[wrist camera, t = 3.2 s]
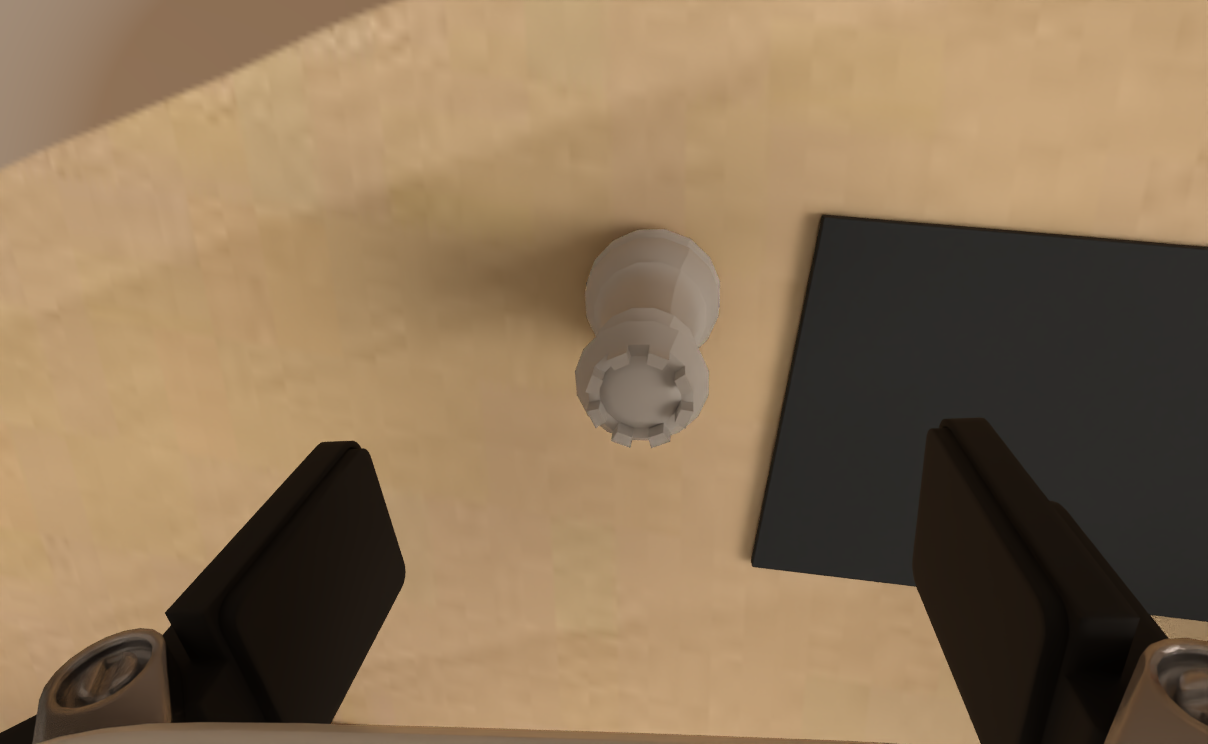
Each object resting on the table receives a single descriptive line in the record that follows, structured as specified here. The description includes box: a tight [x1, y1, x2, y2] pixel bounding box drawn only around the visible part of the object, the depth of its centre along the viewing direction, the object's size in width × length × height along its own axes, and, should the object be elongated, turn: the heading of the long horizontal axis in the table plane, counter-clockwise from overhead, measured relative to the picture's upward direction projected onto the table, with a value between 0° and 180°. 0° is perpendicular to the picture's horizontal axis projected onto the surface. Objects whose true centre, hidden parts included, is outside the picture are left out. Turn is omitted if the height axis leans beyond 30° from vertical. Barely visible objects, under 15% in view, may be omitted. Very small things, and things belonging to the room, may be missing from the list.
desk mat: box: [751, 215, 1208, 622], centre depth 23 cm, size 20×14×1 cm
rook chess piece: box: [575, 229, 720, 448], centre depth 19 cm, size 4×4×8 cm
